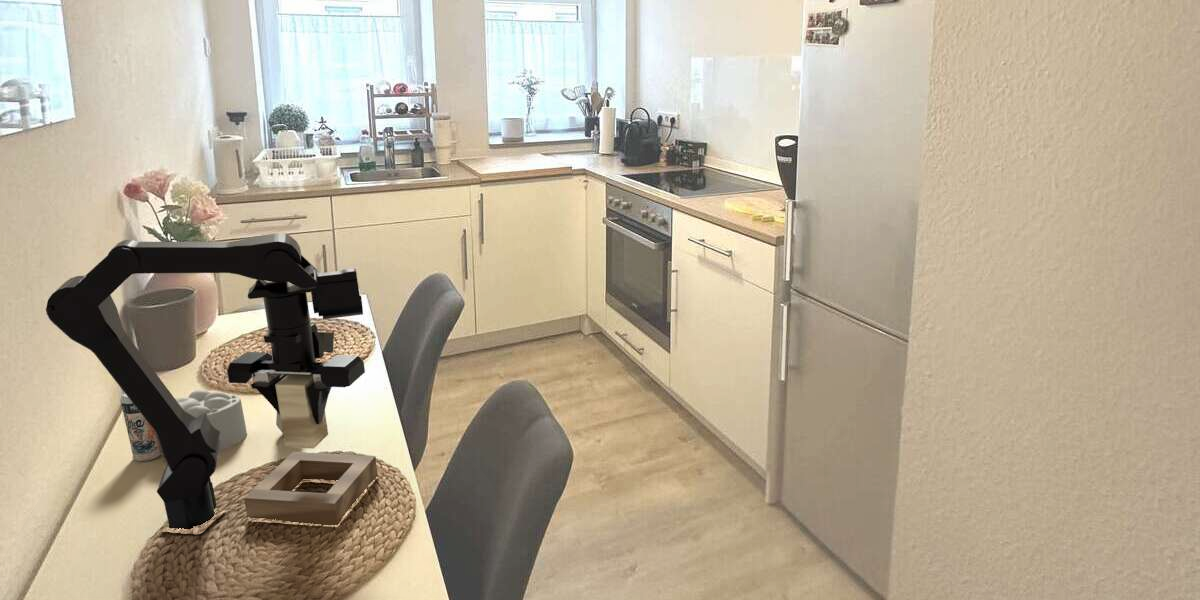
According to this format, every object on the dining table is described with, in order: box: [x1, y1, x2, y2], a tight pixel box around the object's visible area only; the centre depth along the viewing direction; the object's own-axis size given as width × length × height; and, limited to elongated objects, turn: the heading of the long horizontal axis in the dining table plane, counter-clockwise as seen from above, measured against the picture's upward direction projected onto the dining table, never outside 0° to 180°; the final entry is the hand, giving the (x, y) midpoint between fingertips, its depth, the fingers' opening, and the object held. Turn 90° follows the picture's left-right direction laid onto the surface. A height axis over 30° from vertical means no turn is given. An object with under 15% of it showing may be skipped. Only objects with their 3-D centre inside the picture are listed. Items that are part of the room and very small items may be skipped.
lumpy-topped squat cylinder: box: [175, 389, 248, 452], centre depth 141 cm, size 10×13×9 cm
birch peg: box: [275, 375, 329, 450], centre depth 119 cm, size 4×4×10 cm
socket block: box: [243, 451, 379, 525], centre depth 122 cm, size 14×14×4 cm
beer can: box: [119, 391, 163, 462], centre depth 136 cm, size 5×5×12 cm
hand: (304, 422), depth 119 cm, fingers closed on birch peg, 4 cm apart
